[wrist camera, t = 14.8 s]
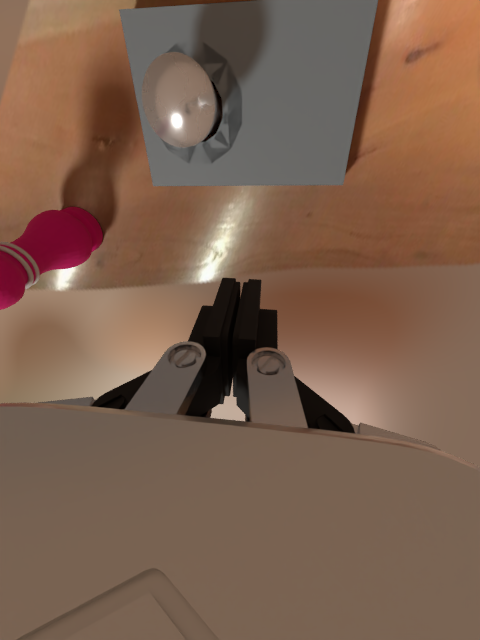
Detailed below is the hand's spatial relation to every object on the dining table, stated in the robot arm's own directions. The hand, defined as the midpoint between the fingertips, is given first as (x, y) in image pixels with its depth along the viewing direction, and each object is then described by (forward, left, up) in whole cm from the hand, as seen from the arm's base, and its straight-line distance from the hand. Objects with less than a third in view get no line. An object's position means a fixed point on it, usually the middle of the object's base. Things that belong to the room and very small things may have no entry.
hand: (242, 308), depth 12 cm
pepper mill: (+26, +5, -27) cm, 37 cm away
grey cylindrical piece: (+7, -8, -26) cm, 28 cm away
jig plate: (+2, -8, -26) cm, 28 cm away
